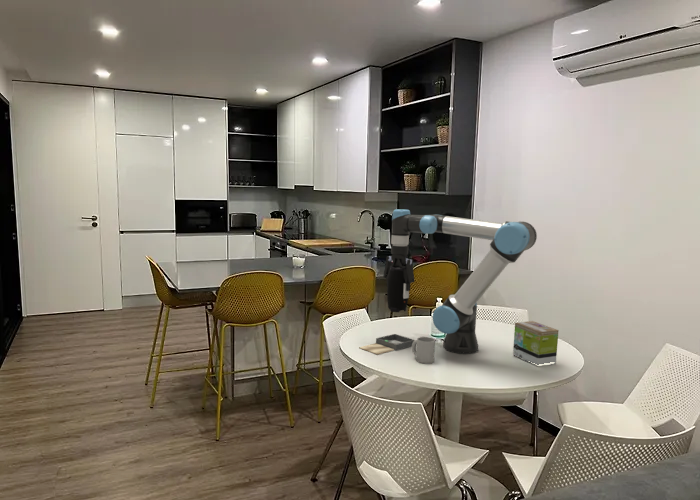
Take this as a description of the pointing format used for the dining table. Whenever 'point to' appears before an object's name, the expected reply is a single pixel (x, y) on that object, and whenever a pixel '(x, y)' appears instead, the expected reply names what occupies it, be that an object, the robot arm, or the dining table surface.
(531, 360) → the tea box
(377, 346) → the birch board
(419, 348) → the cup
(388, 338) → the tray
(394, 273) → the portable speaker
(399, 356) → the dining table surface
